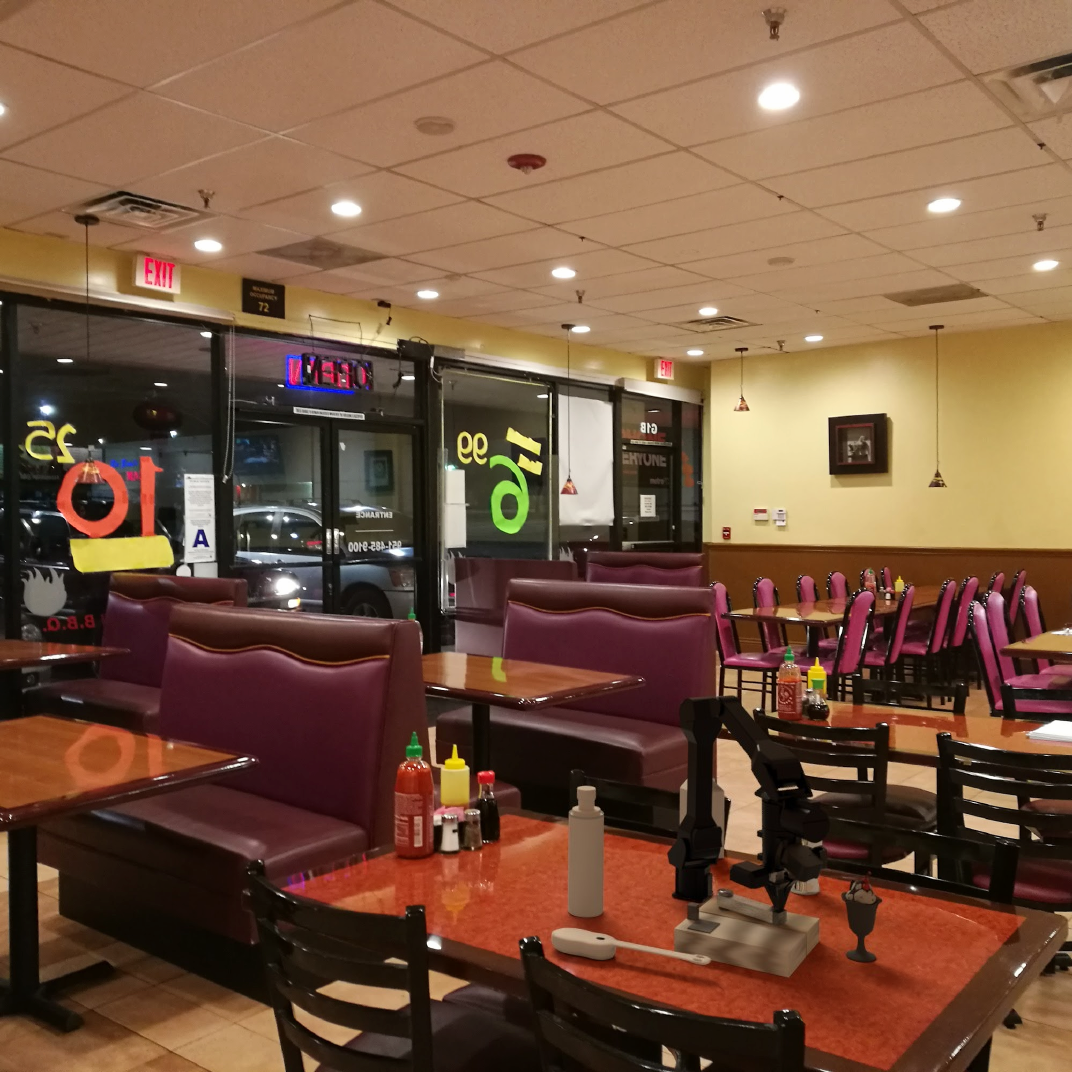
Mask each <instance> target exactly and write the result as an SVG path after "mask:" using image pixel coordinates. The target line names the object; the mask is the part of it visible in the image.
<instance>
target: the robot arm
mask: <svg viewBox="0 0 1072 1072" xmlns="http://www.w3.org/2000/svg"><path fill="white" fill-rule="evenodd" d="M678 717H679V724H680V725H679V726H680V730H681V731H682V733H683V735H684V737H685V739H686V740H687V772H686V773H687V775H686V776H687V779H686V780H687V813H686V815H685V817H684V819H683V820H682V822H681V824H680V823H679V826H678V828H677V835H676V841H674V843H673V844H672V846H671V847H670V848H669V850H668V851H667V853H666V854H667V861H668V864H669V865H671V866H672V867H675V869H674V871H675V873H674V874H675V876H674V878H675V879H674V883H675V884H674V891H673V892H672V893H671V897H673V898H678V899H683V900H687V901H693V902H698V903H703V902H704V901H706V900H707V899H708V898H709V897H710V896H712V895H713V894H714V891H713V888H714V887H713V882H714V880H713V879H714V878H713V876H714V875H713V873H712V872H711V866H717V865H718V861H719V859H720V858H719V854H720V851H721V847H723V846H722V828H721V827H720V826H717V824H716V822H715V821H714V819H713V817H712V791H713V778H714V745H715V742H716V740H717V738H718V736H719V735H720V734H721V732H722V730H723V726H724V727H725V728H726V730H727V731H728V732H729V734H730V735H731V736H732V737H733V739H734V740H735V741H736V742H737V744H738V745H739V746H740V747H741V748H742V750H743V751H744V752H745V753H746V755H747V757H748V758H749V760H750V771H751V773H752V775H753V776H754V777H755V779H756V781H757V783H758V784H759V785H760V787H759V788H758V789H756V790H755V791H754V793H753V795H754V796H756V797H757V798H760V799H761V829H758V830H756V837H758V838H761V852H759V853H757V854H756V857H757V859H756V860H759V861H761V862H762V864H758V863H755V862H752V861H749V860H745V861H741V862H737V863H733V864H732V865H731V866H730V867H729V881H731V882H733V883H736V884H738V885H741V886H743V887H745V888H748V889H751V890H756V889H760V888H764V889H765V892H766V893H767V895H768V898H769V900H770V902H771V903H772V906H774V907H778V908H782V909H786V908H785V907H786V904H787V901H788V898H789V895H790V894H791V888H792V886H793V885H794V884H795V883H796V882H798V881H800V882H807V881H808V880H811V879H814V878H815V879H817V878H818V879H819V877H820V873H821V870H825V869H827V868H828V859H829V856H828V849H827V848H826V847H825V846H823V844H822V845H820V846H816V847H814V848H812V847H809V846H806V845H802V839H804V840H806V841H809V842H811V843H818V842H821V841H822V842H823V840H825V838H826V837H827V836H828V834H829V831H830V828H831V821H830V819H829V816H828V814H827V812H826V811H824V809H821V802H820V801H819V800H816V799H811V798H813V797H814V794H813V793H814V792H813V791H812V789H811V788H812V785H811V784H810V782H809V780H808V778H807V775H806V774H805V771H804V769H803V766H802V764H801V763H802V762H801V761H800V760H799V758H798V757H797V756H796V755H795V754H794V753H793V752H791V750H789V749H788V748H787V747H785V746H782V745H780V744H778V743H776V742H774V741H773V740H771V738H769V736H768V735H767V734H766V732H765V731H764V730H763V729H762V728H761V726H759V724H758V723H757V722H756V721H755V720H754V718H753V717H752V716H751V714H750V713H749V712H748V711H747V710H746V708H745V707H744V706H743V705H742V700H741V699H740V698H739V697H738V696H737V695H736V696H735V695H733V694H732V695H716V696H700V697H699V696H697V697H686V698H684V699H683V701H682V702H681V703H680V704H679V709H678ZM795 787H796V788H795ZM789 788H790V789H789ZM780 789H781V790H780ZM718 858H719V859H718Z"/></svg>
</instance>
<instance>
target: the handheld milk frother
mask: <svg viewBox="0 0 1072 1072" xmlns="http://www.w3.org/2000/svg"><path fill="white" fill-rule="evenodd" d="M550 938H551V943H552V946H553V947H554V949H555V950H557V951H559V952H561V953H564V954H568V955H574V956H580V957H585V958H589V959H592V960H598V961H605V960H609V959H612V958H614V956H615V954H616V950H617V948H621V949H627V950H632V951H638V952H643V953H647V954H653V955H659V956H664V957H668V958H669V957H670V958H674V959H678V960H682V961H683V960H684V961H687V962H689V963H692V964H696V965H700V966H706V965H708V964H710V963H711V962H712V960H711V958H709V957H707V956H702V955H691V954H685V953H680V952H674V950H669V949H664V948H658V947H652V946H650V945H649V946H647V945H643V944H638V943H633V942H628V941H622V940H618V939H616V938H615V937H613V936H611V935H608V934H605V933H599V932H593V931H589V930H586V929H582V928H581V929H580V928H575V927H562V928H556V929H555V930H553V931H552V932H551V937H550Z"/></svg>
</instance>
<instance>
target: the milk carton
mask: <svg viewBox="0 0 1072 1072" xmlns="http://www.w3.org/2000/svg"><path fill="white" fill-rule="evenodd" d="M686 813H687V779H685V781H684V782H683V783H682V784H681V786H680V787H679V825H680V824H681V822H682V820H683V819H684V817H685V815H686ZM712 817H713V819H714V821H715V822H716V824H717V826H720V827H721V828H722V846H723V847H721V851H720V854H719V858H718V860H719V859H724V858H725V857H724V856H725V790H724V789H723V788H722V787H721V786H720V785H719V784H718V783H716V778H714V777H713V791H712Z"/></svg>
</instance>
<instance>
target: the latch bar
mask: <svg viewBox="0 0 1072 1072" xmlns="http://www.w3.org/2000/svg"><path fill="white" fill-rule="evenodd" d="M716 898H717V906H719V907H723V908H726V909H729V910H732V911H735V912H738V913H741V914H745V915H748V916H751V917H754V918H757V919H760V920H763V921H767V922H770V923H772V924H775V925H781V924H783V923H785V922H787V912H788V910H787V909H786V908H784V909H782V908H778V907H774V906H773V905H771V904H768V903H765V902H761V901H757V900H755V899H751V898H748V897H745V896H741V895H738V894H735V893H734V890H733V889H730V888H724V887H723V888H719V889H717V894H716Z"/></svg>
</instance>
